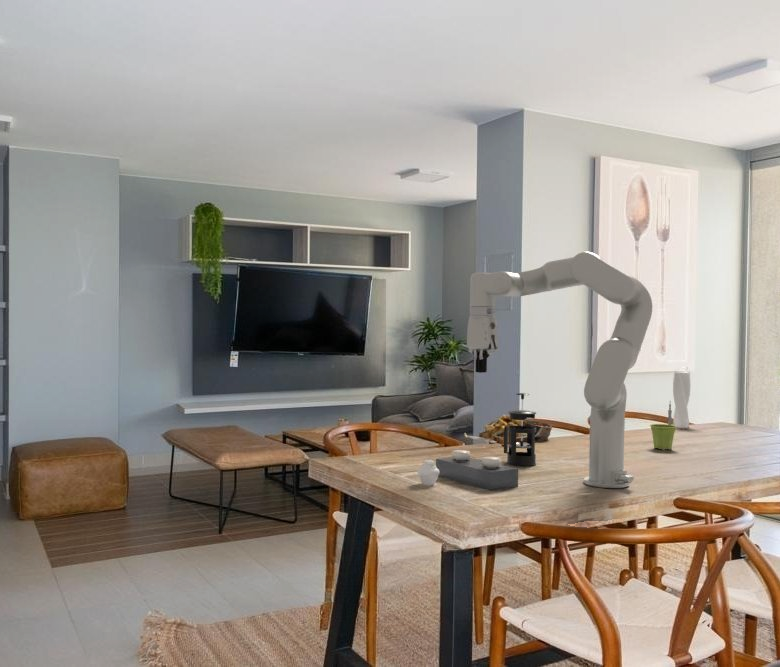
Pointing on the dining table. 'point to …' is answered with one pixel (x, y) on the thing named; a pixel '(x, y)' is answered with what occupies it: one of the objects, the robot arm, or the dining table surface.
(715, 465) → the dining table surface
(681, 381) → the skyscraper
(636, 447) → the dining table surface
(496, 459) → the knob
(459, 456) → the knob
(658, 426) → the plant pot
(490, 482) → the mount
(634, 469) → the dining table surface
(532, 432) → the french press
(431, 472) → the white ribbed round lump
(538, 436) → the food tray
